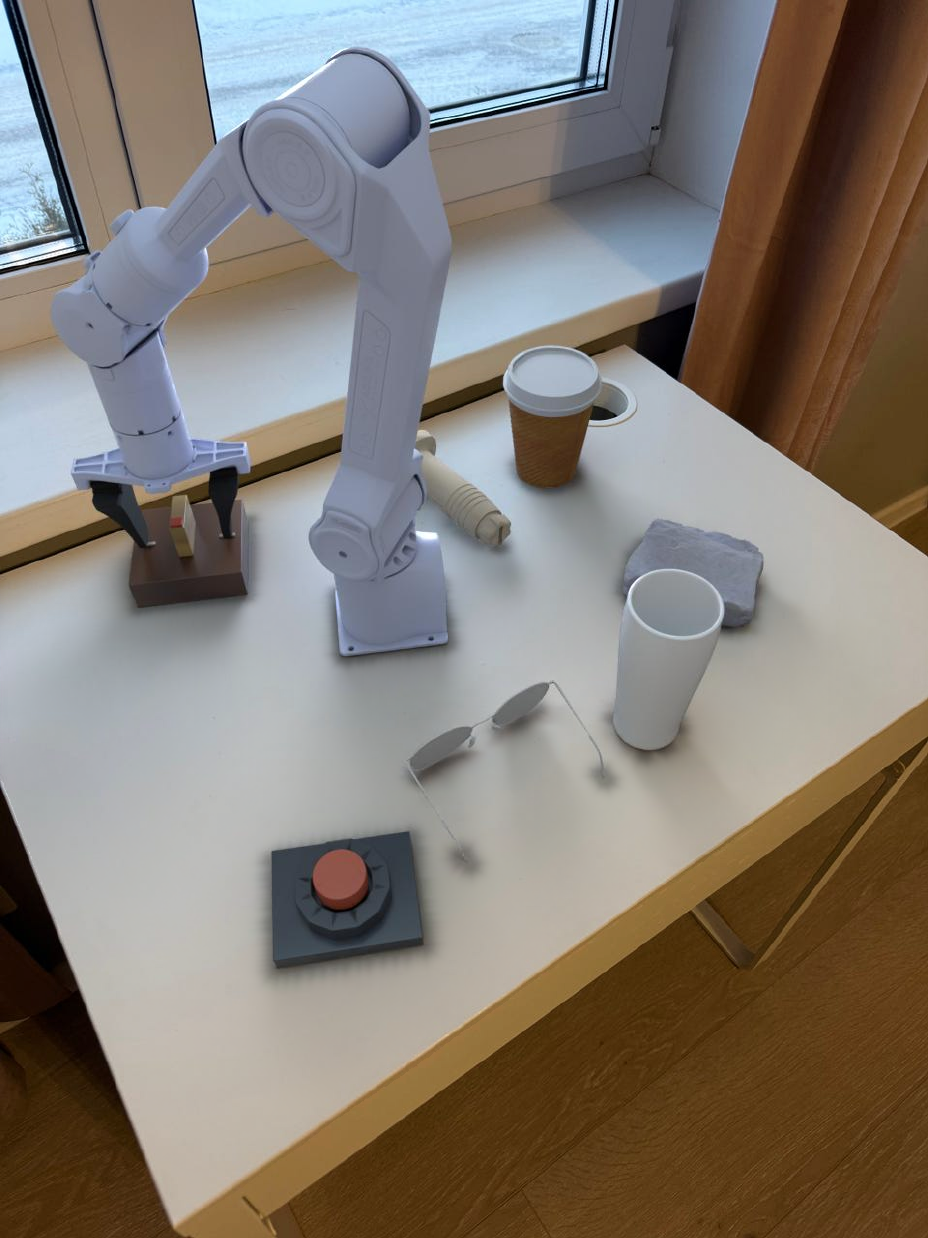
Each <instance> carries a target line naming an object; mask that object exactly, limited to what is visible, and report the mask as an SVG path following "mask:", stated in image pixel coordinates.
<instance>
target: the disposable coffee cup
mask: <svg viewBox="0 0 928 1238" xmlns="http://www.w3.org/2000/svg"><path fill="white" fill-rule="evenodd" d="M502 387H503V389H504V391H505V394H506V397H507V399H508V406H509V418H510V424H511V425H510V426H511V434H512V443H513V451H514V461H515V470H516V471H515V472H516V474H517V475H518V477H519V478H520V479H521V480H522V481H523V482H524V483H526V484H527V485H530V486H533V487H536V488H540V489H554V488H559V487H562V486H565V485H567V484H568V483H570V482H571V481H572V480H573V479H574V477H575V476H576V473H577V469H578V465H579V461H580V458H581V453H582V450H583V446H584V442H585V439H586V436H587V430H588V428H589V424H590V419H591V416H592V412H593V408H594V405H595V402H596V400H597V399H598V397H599V396H600V394H601V392H602V390H603V379H602V377H601V375H600V373H599V368H598V365H597V364H596V362H595V361H594V359H592V358H591V357H590V356H589V355H587V354H586V353H585V352H582V351H580V350H578V349H575V348H572V347H568V346H562V345H540V346H536V347H535V346H534V347H530V348H528V349H526V350H523V351H521V352H520V353H518V354H517V355H516V356H514V357H513V358H512V360H511V361H510V363H509V364H508V368H507V369H506V371H505V372H504V374H503V377H502Z"/></svg>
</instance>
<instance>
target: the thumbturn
mask: <svg viewBox="0 0 928 1238" xmlns="http://www.w3.org/2000/svg"><path fill="white" fill-rule="evenodd" d="M190 505H191V504H190V501H189V497H188V495H187V494H183V495H174V496H172V499H171V507H172V508H171V518H170V528H169V530H170V533H171V536H172V539H173V541H174V544H175V547H176V550H177V553H178V555H179V557H185V556H193V552H194V539H195V526H196V522H195V519H194V516H193V513H192V510H191V506H190Z"/></svg>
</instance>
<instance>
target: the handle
mask: <svg viewBox="0 0 928 1238" xmlns="http://www.w3.org/2000/svg"><path fill="white" fill-rule="evenodd" d="M414 448H415V449H416V450H417V451H419V452H420V453H421V454H422V455H423V461H422V475H423V478H424V481H425V483H426V487H427V498H429V499H430V500H431V501H432V502H433V503H434V504H435V505H436V506H437V507H438V508H439V509H440V510H441V511H442V512H443V514H445V515H446V516H447V518H449V519H450V520H451V521H452V522H454V524H456V525H457V526H458V527H459V528H461V530H463V531H465V532H466V533H468V534H469V535H471V537H474V538H476V539H478V541H479V542H480V543H481V544H483V545H484V546H486V547H489V548H491V547H500V546H501V545H502V544H503V542H504V541H505V540H506V539H507V537H509V536H510V535H511V532H512V531H511V526H512V522H511V521H510V519H509V517H507V516H506V515H505V514H504V513H503V514H502V512H501V511H500V509H499V508H498V507H497V506H496V505H495V504H494V503H493V501H492V500H490V498H489V497H488V496H487V495H486V494H484V493H483V492H482V491H481V490H480V489H478V487H476V486H475V485H474V484H472V482H470V481H468V480H467V479H465V478H464V477H463V476H461V475H460V474H459V473H457V472H456V471H455V470H453V469H452V468H450V467H449V466H447V465H446V464H445V463H444V462H442V461H441V460H440V459H438V458H437V457H436V451H437V442H436V439H435V438H434V436H433V435H432V434H430V432H429V431H427V430H426V429H418V432H417V437H416V442H415V447H414Z"/></svg>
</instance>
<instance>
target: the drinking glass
mask: <svg viewBox="0 0 928 1238" xmlns="http://www.w3.org/2000/svg"><path fill="white" fill-rule="evenodd" d="M621 616H622V618H621V622H620V629H619V636H618V649H617V650H618V651H617V669H616V686H615V687H616V688H615V698H614V699H615V701H614V708H613V712H612V724H613V729H614V730H615V732H616V734H617V735H618V736H619V738H620V739H621V740H622V741H624V742H625V743H626V744H627V745H628V746H630V747H633V748H636V749H639V750H642V751H656V750H660V749H663V748H665V747H667V746H669V745H670V744H671V743H672V742H673V741H675V739H676V738H677V736H678V734H679V731H680V728H681V725H682V722H683V720H684V717H685V716H686V713H687V711H688V709H689V706H690V704H691V702H692V700H693V698H694V696H695V693H696V692H697V689H698V687H699V685H700V683H701V681H702V679H703V677H704V674H705V673H706V671H707V669H708V667H709V664H710V661H711V660H712V657H713V654H714V652H715V649H716V647H717V643H718V641H719V640H718V639H719V637H720V633H721V629H722V626H723V625H722V621H723V617H724V603H723V600H722V597H721V595H720V594H719V592H718V591H717V589H716V588H715V587H714V586H713V585H712V584H711V583H709V582H708V581H707V580H705V579H704V578H702V577H700V576H698V575H696V574H694V573H691V572H688V571H684V570H679V569H660V570H655V571H652V572H649V573H647V574H644V575H643V576H641V577H640V578H638V579H637V580H636V581H635V582H634V583H633V585H632V586H631V588H630V590H629V592H628V596H627V597H626V600H625V604H624V608H623V612H622V615H621Z"/></svg>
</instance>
